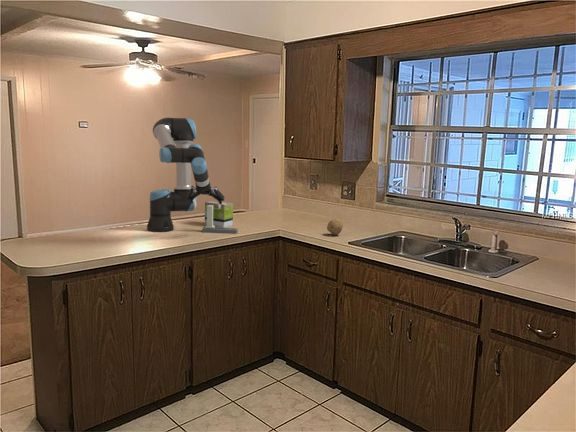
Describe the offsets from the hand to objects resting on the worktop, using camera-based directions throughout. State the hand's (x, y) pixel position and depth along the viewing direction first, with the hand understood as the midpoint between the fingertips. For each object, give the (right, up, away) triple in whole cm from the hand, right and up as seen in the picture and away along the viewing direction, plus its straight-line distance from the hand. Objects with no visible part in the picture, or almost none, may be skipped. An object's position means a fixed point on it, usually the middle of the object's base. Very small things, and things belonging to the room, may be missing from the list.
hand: (207, 206), depth 262 cm
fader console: (+5, -15, +12) cm, 20 cm away
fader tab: (-1, -12, +12) cm, 17 cm away
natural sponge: (+72, -17, +15) cm, 76 cm away
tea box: (+2, -11, +32) cm, 34 cm away
